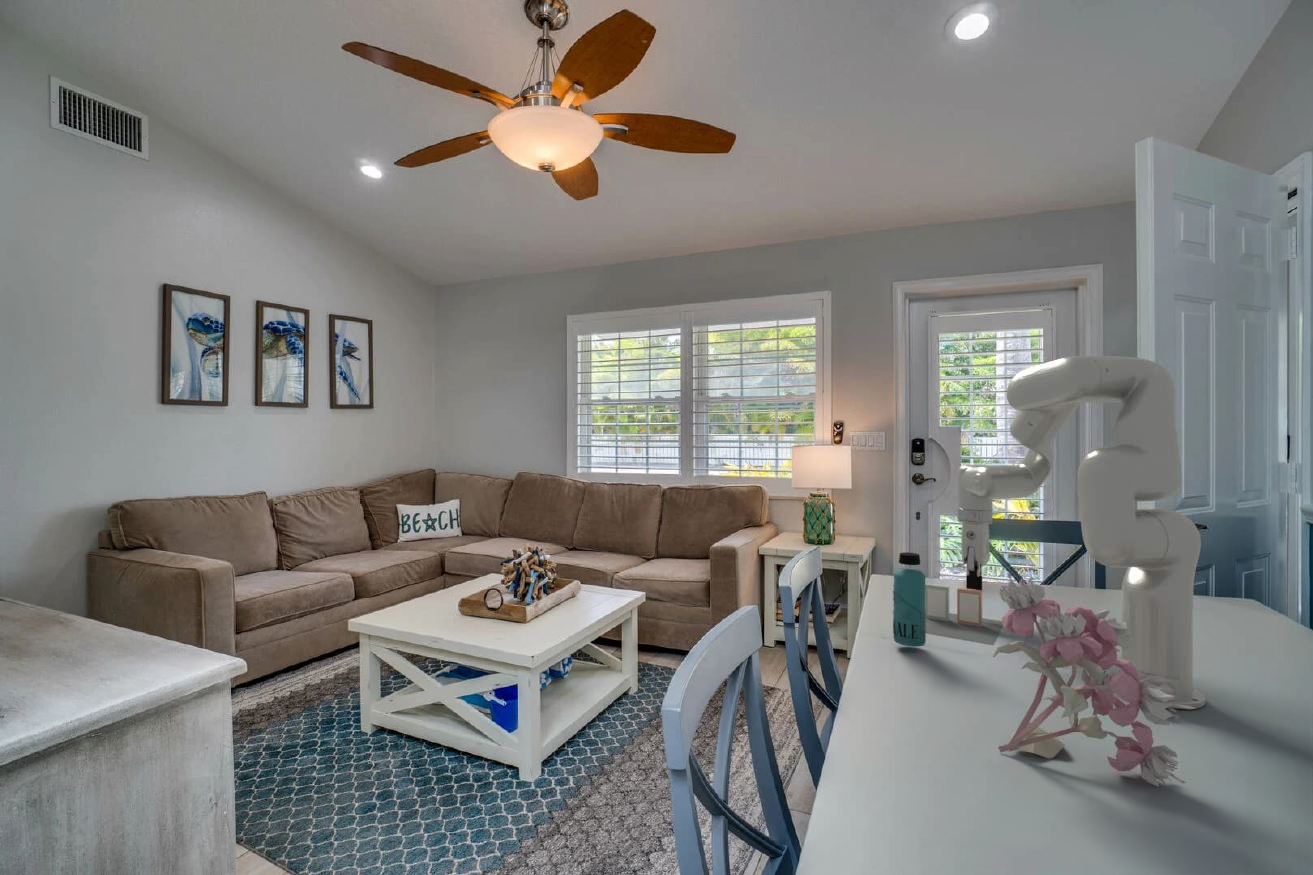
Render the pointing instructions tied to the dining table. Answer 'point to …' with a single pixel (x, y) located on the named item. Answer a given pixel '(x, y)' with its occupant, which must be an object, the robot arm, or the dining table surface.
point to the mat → (965, 629)
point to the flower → (1086, 682)
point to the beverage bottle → (909, 603)
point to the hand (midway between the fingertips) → (974, 591)
